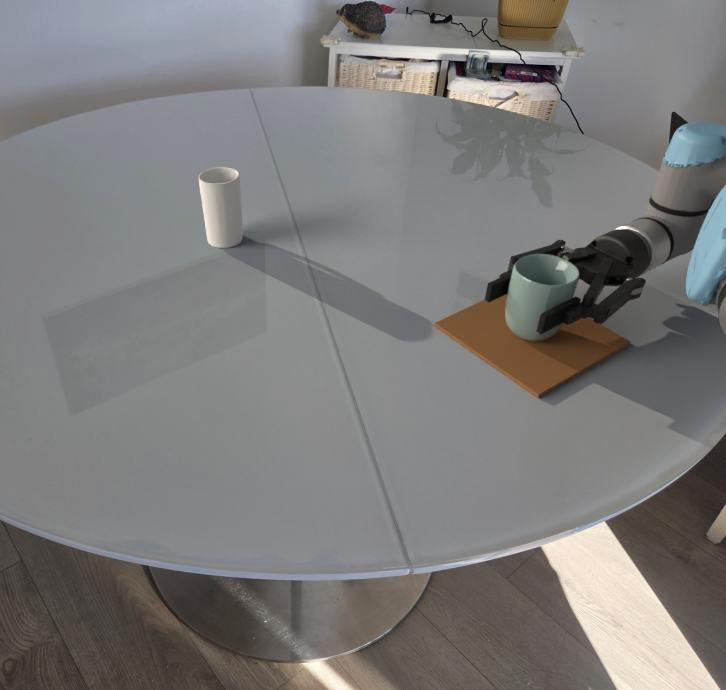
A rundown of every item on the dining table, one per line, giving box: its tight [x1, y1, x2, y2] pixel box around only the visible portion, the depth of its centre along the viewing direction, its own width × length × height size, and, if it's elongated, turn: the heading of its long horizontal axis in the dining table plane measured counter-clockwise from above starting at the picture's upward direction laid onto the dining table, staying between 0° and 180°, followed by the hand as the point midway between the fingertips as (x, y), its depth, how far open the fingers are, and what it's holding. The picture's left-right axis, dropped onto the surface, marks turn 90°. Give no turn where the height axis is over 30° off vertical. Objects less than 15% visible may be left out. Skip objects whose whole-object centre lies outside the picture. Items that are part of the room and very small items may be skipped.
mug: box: [198, 166, 244, 249], centre depth 110 cm, size 10×7×12 cm, turn 2°
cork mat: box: [433, 294, 632, 399], centre depth 87 cm, size 18×18×1 cm
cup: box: [505, 254, 580, 341], centre depth 84 cm, size 8×8×10 cm
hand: (513, 308), depth 82 cm, fingers closed on cup, 8 cm apart
